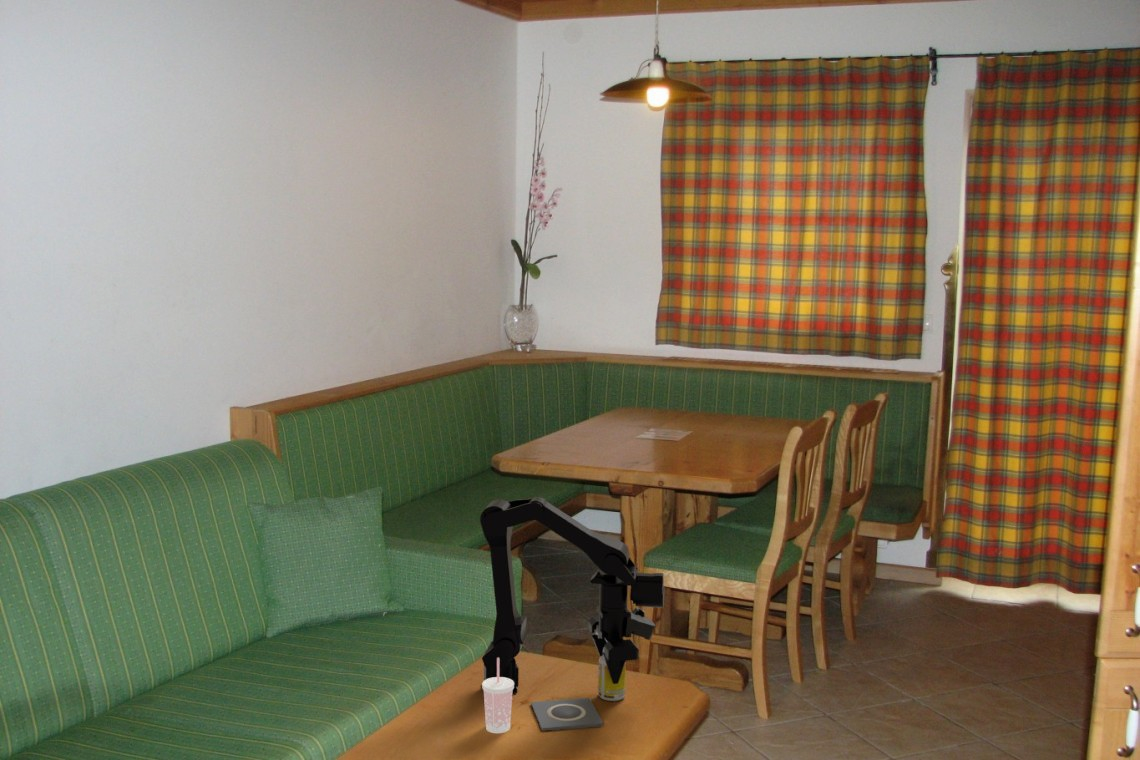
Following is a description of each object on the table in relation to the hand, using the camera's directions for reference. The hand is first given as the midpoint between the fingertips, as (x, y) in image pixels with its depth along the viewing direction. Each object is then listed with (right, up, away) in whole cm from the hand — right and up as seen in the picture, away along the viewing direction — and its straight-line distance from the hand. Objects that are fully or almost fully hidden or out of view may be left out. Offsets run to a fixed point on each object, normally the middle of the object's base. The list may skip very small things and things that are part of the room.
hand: (611, 677), depth 225 cm
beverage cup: (-22, -6, -14) cm, 27 cm away
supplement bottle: (0, -4, +1) cm, 4 cm away
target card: (-9, -5, -9) cm, 14 cm away
